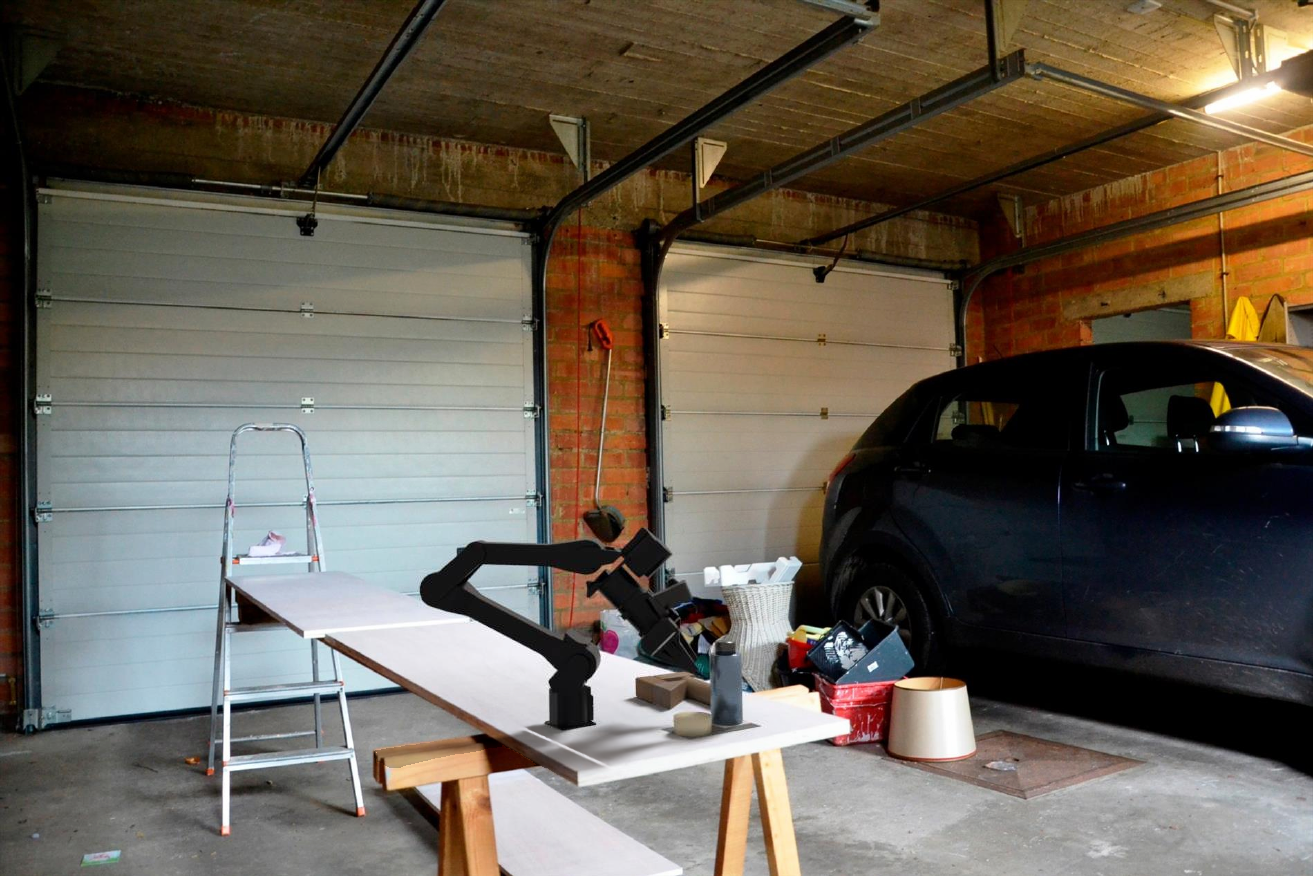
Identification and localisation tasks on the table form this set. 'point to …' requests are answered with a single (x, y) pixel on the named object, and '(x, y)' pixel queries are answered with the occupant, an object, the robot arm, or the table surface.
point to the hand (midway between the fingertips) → (696, 666)
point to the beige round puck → (692, 724)
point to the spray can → (726, 684)
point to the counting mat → (719, 729)
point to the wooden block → (672, 689)
